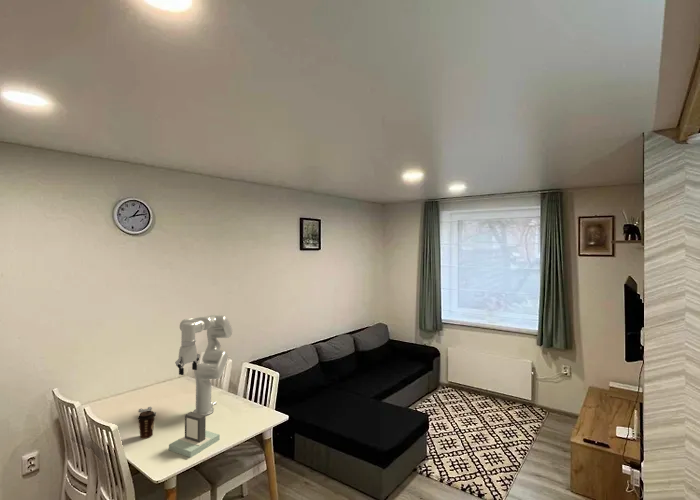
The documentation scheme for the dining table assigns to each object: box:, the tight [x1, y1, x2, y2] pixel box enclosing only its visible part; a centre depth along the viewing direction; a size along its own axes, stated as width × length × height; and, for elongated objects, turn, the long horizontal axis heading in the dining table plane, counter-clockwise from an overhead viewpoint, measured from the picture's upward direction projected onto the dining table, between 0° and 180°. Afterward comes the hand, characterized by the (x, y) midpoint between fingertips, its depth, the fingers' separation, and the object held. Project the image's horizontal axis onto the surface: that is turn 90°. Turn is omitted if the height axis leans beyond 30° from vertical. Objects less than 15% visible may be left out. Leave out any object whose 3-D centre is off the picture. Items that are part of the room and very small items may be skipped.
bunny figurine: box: [137, 406, 157, 418], centre depth 239 cm, size 10×5×15 cm
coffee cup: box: [137, 410, 156, 440], centre depth 216 cm, size 9×8×13 cm
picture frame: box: [184, 411, 207, 443], centre depth 207 cm, size 4×11×13 cm, turn 65°
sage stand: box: [168, 429, 220, 458], centre depth 207 cm, size 20×16×3 cm
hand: (188, 372), depth 226 cm, fingers open, 9 cm apart
